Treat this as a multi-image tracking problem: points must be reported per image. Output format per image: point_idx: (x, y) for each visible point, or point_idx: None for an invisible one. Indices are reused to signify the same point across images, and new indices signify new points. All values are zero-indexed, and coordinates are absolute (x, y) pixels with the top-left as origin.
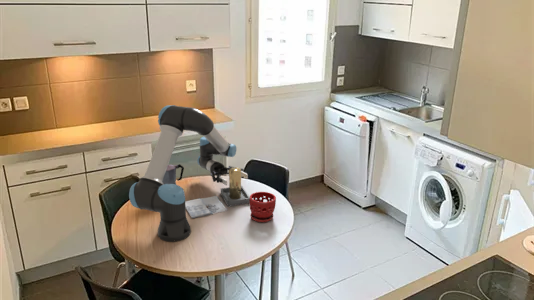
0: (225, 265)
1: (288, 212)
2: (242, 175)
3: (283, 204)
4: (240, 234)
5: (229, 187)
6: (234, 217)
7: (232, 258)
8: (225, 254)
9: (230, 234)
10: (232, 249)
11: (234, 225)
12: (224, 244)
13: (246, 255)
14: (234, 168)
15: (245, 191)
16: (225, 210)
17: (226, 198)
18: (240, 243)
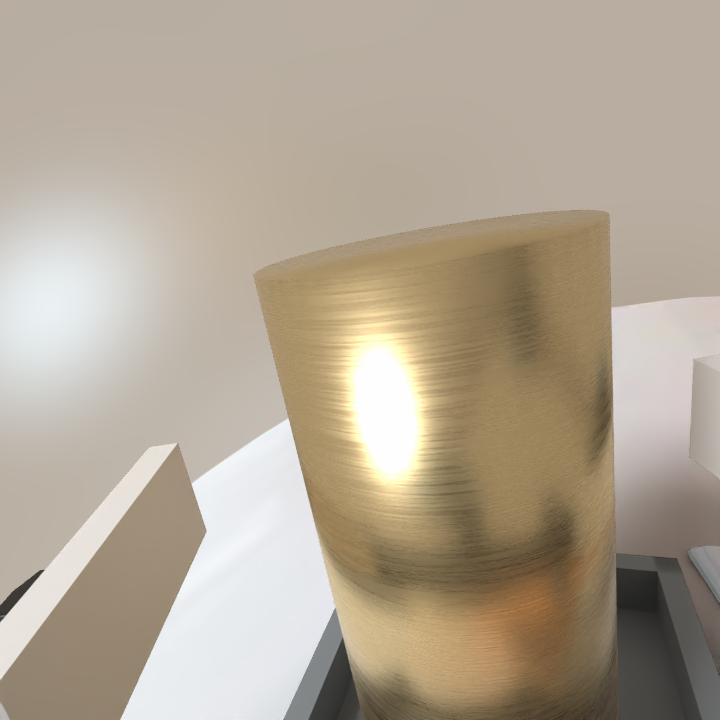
0: (707, 298)
1: (269, 430)
2: (135, 626)
3: (201, 488)
4: (615, 365)
5: (617, 676)
6: (623, 459)
7: (676, 309)
8: (708, 316)
9: (676, 369)
10: (672, 326)
11: (639, 407)
12: (715, 339)
13: (616, 314)
14: (383, 259)
15: (297, 712)
16: (716, 546)
17: (702, 641)
18: (628, 339)
